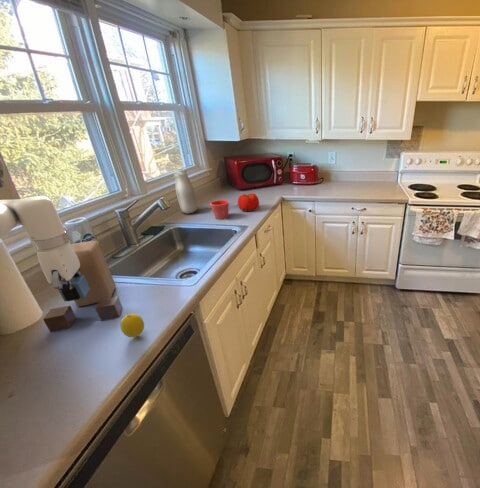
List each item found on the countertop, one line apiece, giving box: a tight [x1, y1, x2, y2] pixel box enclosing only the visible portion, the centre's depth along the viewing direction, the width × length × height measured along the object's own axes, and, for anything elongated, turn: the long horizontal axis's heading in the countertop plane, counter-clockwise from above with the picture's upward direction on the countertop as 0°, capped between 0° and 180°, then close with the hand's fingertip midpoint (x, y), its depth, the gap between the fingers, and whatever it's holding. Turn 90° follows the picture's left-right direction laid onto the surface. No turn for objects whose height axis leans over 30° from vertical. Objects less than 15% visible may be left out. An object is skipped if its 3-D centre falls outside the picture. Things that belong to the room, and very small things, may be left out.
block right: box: [95, 295, 124, 322], centre depth 91 cm, size 5×5×5 cm
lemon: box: [120, 313, 145, 338], centre depth 82 cm, size 6×6×8 cm
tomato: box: [237, 192, 260, 212], centre depth 186 cm, size 14×13×10 cm
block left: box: [42, 305, 77, 333], centre depth 87 cm, size 5×5×5 cm
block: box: [62, 240, 116, 307], centre depth 97 cm, size 10×10×20 cm
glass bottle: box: [173, 168, 198, 215], centre depth 177 cm, size 10×10×28 cm
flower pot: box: [209, 199, 230, 220], centre depth 173 cm, size 11×11×10 cm
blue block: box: [57, 276, 90, 302], centre depth 85 cm, size 5×5×5 cm
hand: (77, 293), depth 86 cm, fingers closed on blue block, 5 cm apart
